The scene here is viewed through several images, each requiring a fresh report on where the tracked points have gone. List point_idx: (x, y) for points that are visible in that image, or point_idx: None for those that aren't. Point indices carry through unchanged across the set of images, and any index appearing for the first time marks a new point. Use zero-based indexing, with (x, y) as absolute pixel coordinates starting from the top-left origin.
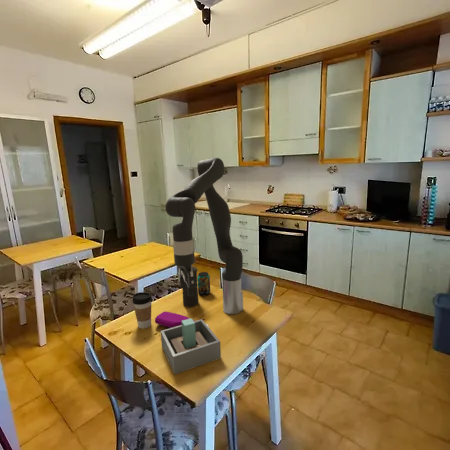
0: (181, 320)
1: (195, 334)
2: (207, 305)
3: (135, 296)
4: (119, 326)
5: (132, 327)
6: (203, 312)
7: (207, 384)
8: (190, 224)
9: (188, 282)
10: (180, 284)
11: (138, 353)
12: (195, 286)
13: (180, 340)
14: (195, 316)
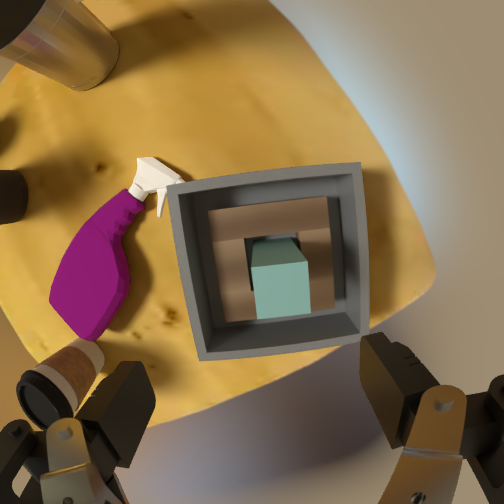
0: (106, 256)
1: (298, 249)
2: (35, 141)
3: (40, 420)
4: None
5: (96, 381)
6: (63, 160)
7: (416, 240)
8: None
9: (484, 483)
10: (140, 431)
11: (220, 388)
12: (501, 378)
13: (245, 290)
14: (75, 192)
